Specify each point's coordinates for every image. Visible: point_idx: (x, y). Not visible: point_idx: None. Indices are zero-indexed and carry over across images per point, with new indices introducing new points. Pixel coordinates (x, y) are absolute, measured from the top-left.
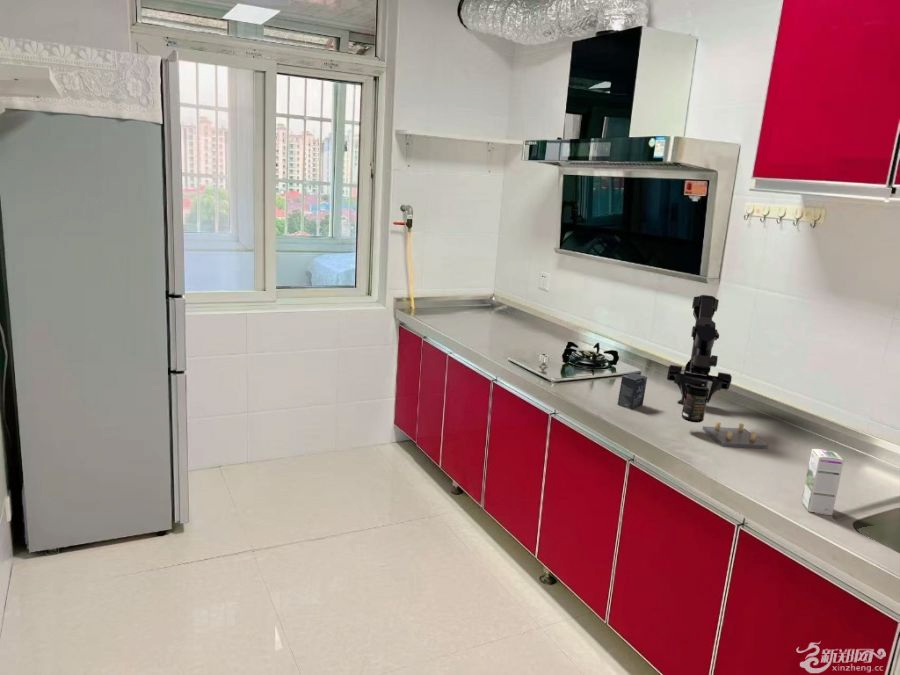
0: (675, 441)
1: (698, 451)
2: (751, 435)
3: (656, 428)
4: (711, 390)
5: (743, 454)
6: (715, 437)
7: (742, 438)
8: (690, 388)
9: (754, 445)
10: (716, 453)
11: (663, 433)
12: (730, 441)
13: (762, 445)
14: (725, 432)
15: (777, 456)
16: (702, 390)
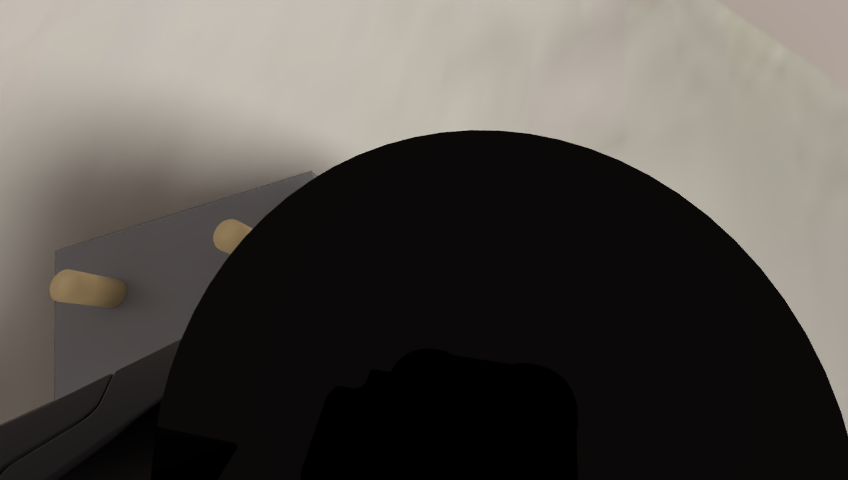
0: (601, 129)
1: (476, 38)
2: (93, 279)
3: None
4: (120, 399)
5: (241, 107)
6: None
7: (159, 313)
8: (702, 234)
9: (132, 228)
10: (382, 56)
11: None
12: (257, 219)
13: (85, 243)
14: None
15: (74, 159)
16: (374, 206)
